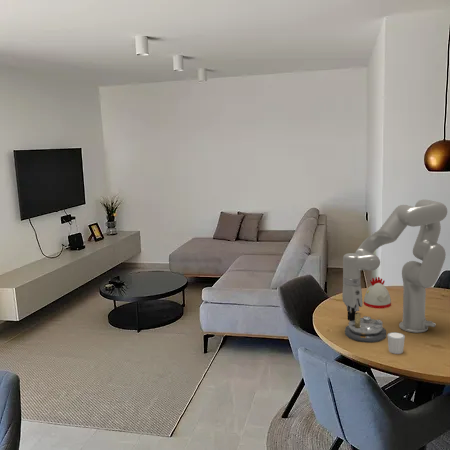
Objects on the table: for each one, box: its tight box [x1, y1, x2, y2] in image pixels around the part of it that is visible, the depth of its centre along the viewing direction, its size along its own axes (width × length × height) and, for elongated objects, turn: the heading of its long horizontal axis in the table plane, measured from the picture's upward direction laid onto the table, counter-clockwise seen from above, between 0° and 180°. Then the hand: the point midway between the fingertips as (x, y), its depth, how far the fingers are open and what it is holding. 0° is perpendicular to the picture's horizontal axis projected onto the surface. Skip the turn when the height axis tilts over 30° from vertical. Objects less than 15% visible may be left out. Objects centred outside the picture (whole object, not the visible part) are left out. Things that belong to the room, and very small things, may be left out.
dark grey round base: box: [344, 324, 387, 344], centre depth 220 cm, size 18×18×2 cm
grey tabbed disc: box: [348, 312, 384, 336], centre depth 219 cm, size 15×15×9 cm
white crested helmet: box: [363, 276, 392, 309], centre depth 258 cm, size 14×14×15 cm
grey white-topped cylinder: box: [386, 332, 406, 355], centre depth 202 cm, size 7×7×7 cm
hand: (351, 320), depth 219 cm, fingers closed
